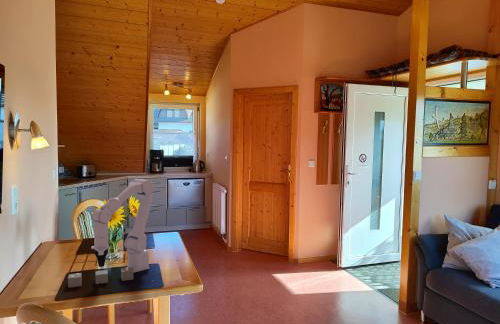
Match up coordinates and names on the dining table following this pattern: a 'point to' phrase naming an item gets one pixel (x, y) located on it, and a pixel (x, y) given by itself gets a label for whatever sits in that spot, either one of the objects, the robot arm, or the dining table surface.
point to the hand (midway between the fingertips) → (101, 266)
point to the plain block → (102, 276)
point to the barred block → (127, 273)
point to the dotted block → (74, 280)
